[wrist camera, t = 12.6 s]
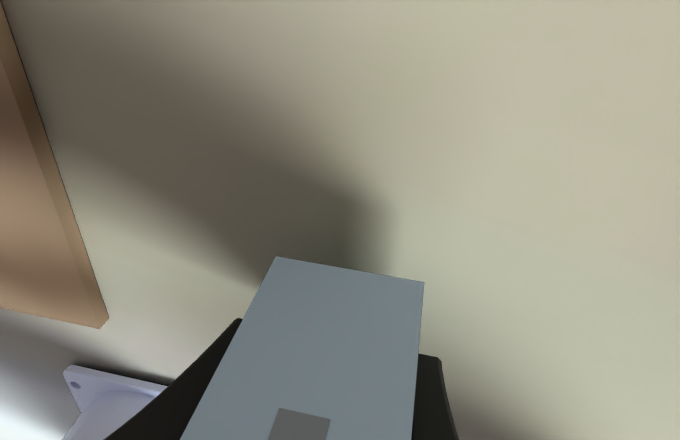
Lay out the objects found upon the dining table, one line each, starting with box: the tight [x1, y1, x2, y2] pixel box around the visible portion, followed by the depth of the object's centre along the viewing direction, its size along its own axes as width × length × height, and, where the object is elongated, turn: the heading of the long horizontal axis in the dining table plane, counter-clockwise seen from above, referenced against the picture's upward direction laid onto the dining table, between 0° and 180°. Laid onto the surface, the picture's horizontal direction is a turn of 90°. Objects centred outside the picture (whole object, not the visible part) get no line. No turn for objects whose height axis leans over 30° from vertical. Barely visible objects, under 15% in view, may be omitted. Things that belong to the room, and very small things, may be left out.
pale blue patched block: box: [180, 256, 424, 440], centre depth 11 cm, size 4×4×6 cm
